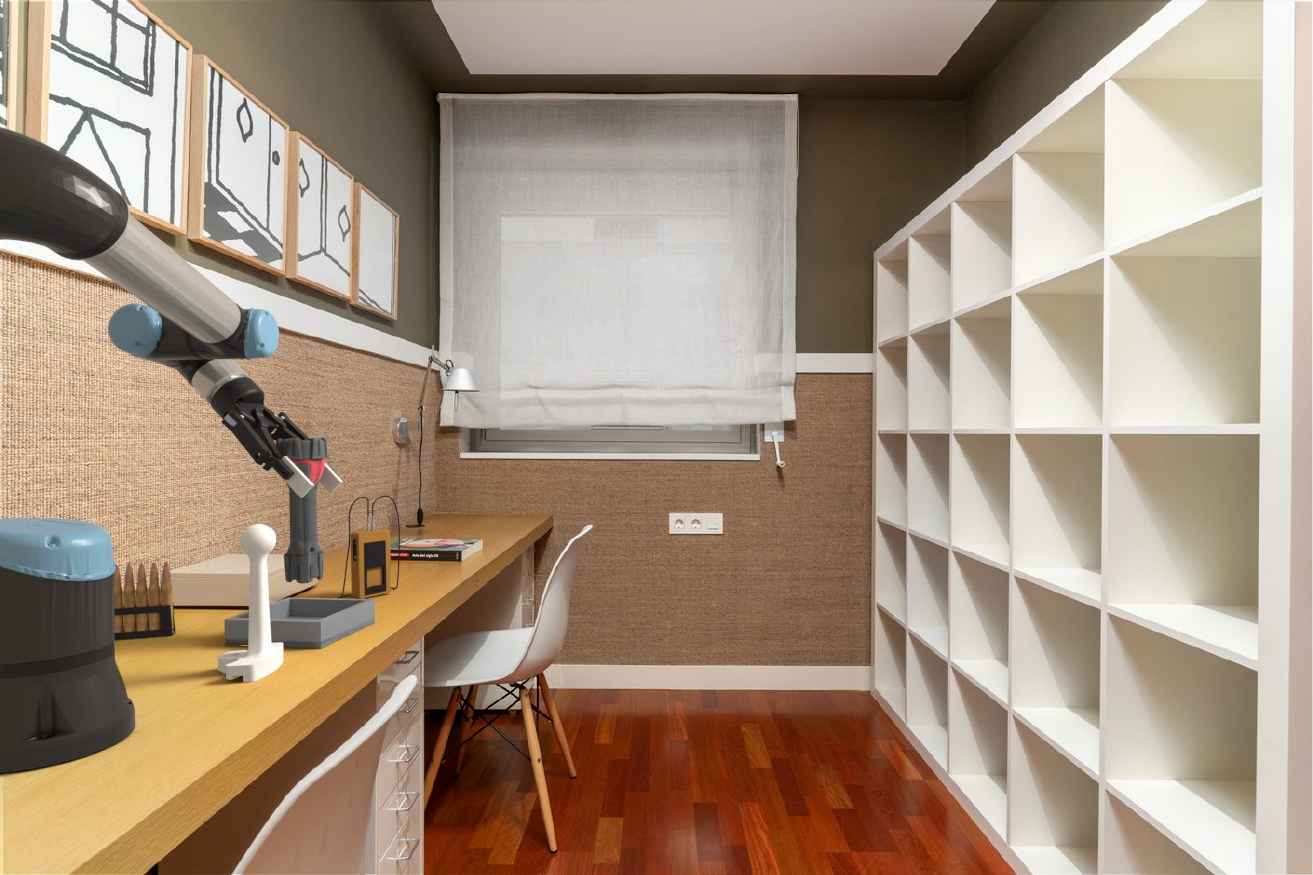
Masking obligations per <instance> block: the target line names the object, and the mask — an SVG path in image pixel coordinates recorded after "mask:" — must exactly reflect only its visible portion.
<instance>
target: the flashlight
mask: <svg viewBox="0 0 1313 875" xmlns="http://www.w3.org/2000/svg"><path fill="white" fill-rule="evenodd" d="M275 444H276V446H277V448H278V449H279V451H280V453H281V455H282V457H281V459H282V458H283V457H284V456H287V457H288V458H289V459H290V460H291V461H292V462H293V463H294V464H295V465H296V466H297V467H298V468H299V469H300V470H301V472H302V473H303V474H304V475H305V476H306V477H307V478H308V479H309V480H310V481H311V482H312V483H313V484H314V486H313V487H312V488H311V490H310V491H309V492H308V493H307V494H306V495H305V496H304V497H302V498H300V497H299V496H298V495H297V493H296V492H295V491H294V490H293V489H292V488H291V487H290V486H289V485H288V484H287V483H286V482H285V483H286V485H287V488H288V494H289V497H288V498H289V502H288V503H289V507H288V508H289V546H288V549H287V551H286V552H285V553H284V554H283V564H284V565H283V566H284V575H285V576H284V577H285V582H287V583H292V582H293V581H296V582H297V583H298V584H301V585H302V584H309V583H311V582H312V581H313V580H314V579H316V580H318V581H319V580H322V579H323V578H324V560H325V558H324V557H325V556H324V555H325V554H324V553H325V551H324V550H322V549H321V547H320V546H319V542H318V503H317V502H318V501H317V499H318V498H317V494H318V493H317V489H318V486H319V483H320V479H321V477H322V474H323V470H324V467H325V463H326V459H328V458H329V456H328V442H327V438H325V437H309V438H305V439H304V440H299V438H289V439H277V440H275Z"/></svg>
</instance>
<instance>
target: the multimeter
mask: <svg viewBox="0 0 1313 875" xmlns="http://www.w3.org/2000/svg"><path fill="white" fill-rule="evenodd" d="M381 498H389V499H390V500H391V501H392V504H394V508H395V511H396V518H397V529H398V552H397V556H398V558H397V576H396V578H397V579H396V586H395V587H394V586H393V587H392V586H391V582H392V581H391V580H392V579H391V578H392V577H391V574H392V573H391V572H392V571H391V570H392V569H391V568H392V556H391V530H390V529H389V528H375V527H376V526H375V521H374V520H375V519H374V505H375V503H376V502H377V501H378V500H379V499H381ZM361 499H366V503H367V504H366V505H367V506H366V511H367V513H366V514H367V516H366V530H361V531H353V532H352V531H351V511H352V510H353V509H352V508H353V507H354V504H355V503H356V501H358V500H361ZM369 503H370V502H369V498H368V497H367V496H360V497H357V498H356V499H355V500H354V501H353V502H352V503H351V505H350V508H349V512H348V546H347V547H348V548H347V552H346V560H345V568H344V569H345V570H344V578H343V586H342V591H341V596H338V597H337V598H338V599H344V598H345V597H350V596H351V598H352V599H369V598H373V597H377V596H381V595H384V596H386V595H390V593H391V591H392V589H393V590H396V589H398V587H399V579H400V578H399V577H400V576H399V575H400V559H401V557H400V556H401V554H400V553H401V552H400V551H401V550H400V549H401V530H400V529H401V528H400V526H401V525H400V518H399V512H398V508H397V505H396V502H395V500H394V498H392V497H391V496H389V495H381V496H379V497H377V498H376V499H375V500H374V501H373V503H372V504H371V523H370V514H369V513H370V512H369V511H370V510H369V508H370V506H369V505H370V504H369ZM349 553H350V554H349ZM349 555H350V568H351V570H350V571H351V572H350V573H351V579H350V580H351V594H346V595H344V593H345V585H346V580H347V570H348V564H349V562H348V561H349Z"/></svg>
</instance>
